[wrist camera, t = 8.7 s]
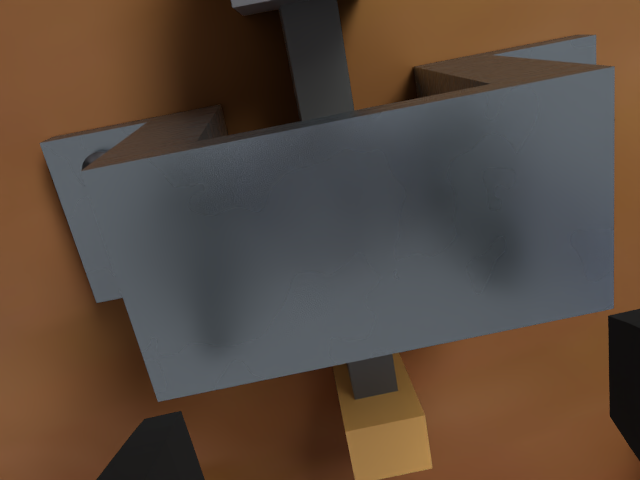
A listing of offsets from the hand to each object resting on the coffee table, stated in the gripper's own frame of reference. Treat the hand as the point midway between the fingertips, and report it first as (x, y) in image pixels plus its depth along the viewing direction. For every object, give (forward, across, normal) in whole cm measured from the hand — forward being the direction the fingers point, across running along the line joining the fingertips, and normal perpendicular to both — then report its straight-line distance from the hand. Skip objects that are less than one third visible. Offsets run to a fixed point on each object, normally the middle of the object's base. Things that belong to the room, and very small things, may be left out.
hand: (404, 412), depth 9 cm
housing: (+10, 0, -2) cm, 10 cm away
